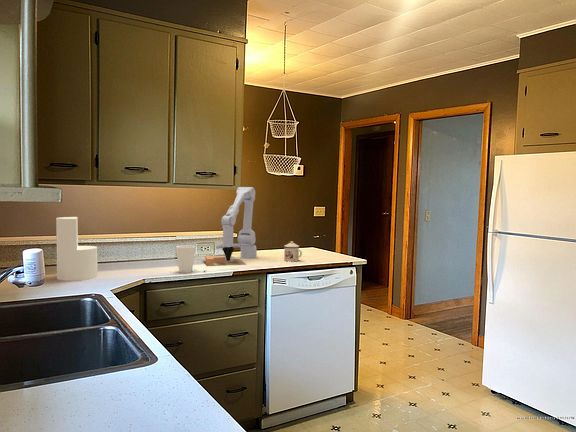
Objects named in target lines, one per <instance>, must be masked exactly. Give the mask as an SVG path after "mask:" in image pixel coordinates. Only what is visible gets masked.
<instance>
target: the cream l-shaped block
mask: <svg viewBox="0 0 576 432" xmlns="http://www.w3.org/2000/svg"><path fill="white" fill-rule="evenodd" d="M55 220H56V221H55V223H56V225H55V227H56V229H55V230H56V238H55V239H56V279H57V280H59V281H63V282H64V281H66V282H67V281H69V282H70V281H71V282H72V281H74V282H75V281H85V280H92V279H96V278H97V277H98V274H99V273H98V271H99V270H98V246H96V245H79V232H78V231H79V229H78V226H79V225H78V224H79V223H78V221H79V220H78V216H62V217H61V216H60V217H56V218H55Z"/></svg>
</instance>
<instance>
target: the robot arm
mask: <svg viewBox="0 0 576 432" xmlns="http://www.w3.org/2000/svg"><path fill="white" fill-rule="evenodd" d="M235 192H236V197H235V199H234V202H233V204H231V205H230V206H229V207H228V209H227V212H226V213H225V215H223V216H222V217H221V220H220V223H221V227H222V243H221V244H215V250H218V249H222V252H223V254H224V257H226V261H230V260H231V258H232V255H233V252H234V250H235V248H240V259H245V260H248V259H257V252H258V251H257V246H256V244H255V243H256V241H257V240H256V232H255V231H254V230H253V229H252V227H253V226H252V225H253V224H252V223H253V212H254V211H253V210H254V202H255V201H256V189H255V187H253V186H239V187H237V188H236V191H235ZM243 202H244V208H243V209H244V210H243V219H242V222H243V223H242V228H241V230H239V232H238V236H237V243H234V225H235V224H236V221H237V216H238V214H239V212H240V206H241V204H242V203H243Z"/></svg>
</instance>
